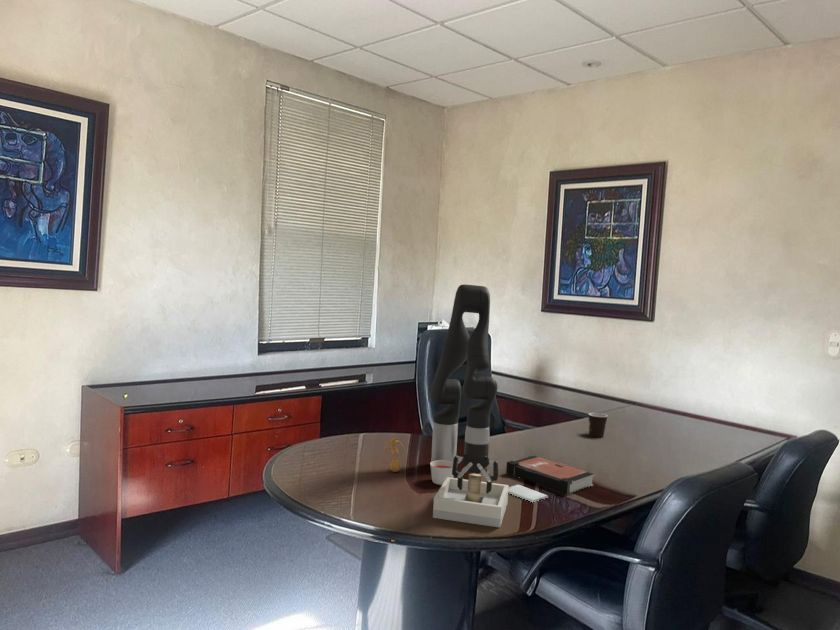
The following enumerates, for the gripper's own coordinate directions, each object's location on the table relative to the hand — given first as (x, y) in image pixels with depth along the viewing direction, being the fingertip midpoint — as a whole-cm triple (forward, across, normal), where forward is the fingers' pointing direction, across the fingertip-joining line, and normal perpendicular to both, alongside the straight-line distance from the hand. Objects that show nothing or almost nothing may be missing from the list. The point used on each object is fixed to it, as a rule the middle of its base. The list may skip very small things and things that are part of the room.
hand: (474, 490), depth 196 cm
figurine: (+5, +33, -24) cm, 41 cm away
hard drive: (+6, -15, -17) cm, 24 cm away
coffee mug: (+5, -41, -111) cm, 118 cm away
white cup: (+5, +14, -19) cm, 24 cm away
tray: (+5, 0, +3) cm, 6 cm away
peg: (+5, 0, 0) cm, 5 cm away
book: (+6, -22, -37) cm, 43 cm away
